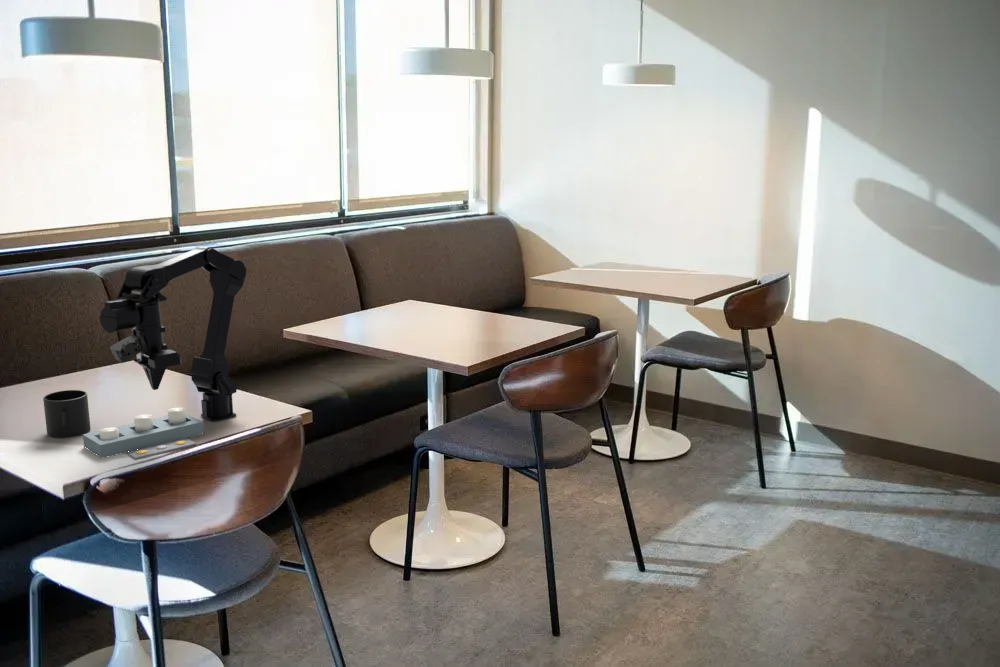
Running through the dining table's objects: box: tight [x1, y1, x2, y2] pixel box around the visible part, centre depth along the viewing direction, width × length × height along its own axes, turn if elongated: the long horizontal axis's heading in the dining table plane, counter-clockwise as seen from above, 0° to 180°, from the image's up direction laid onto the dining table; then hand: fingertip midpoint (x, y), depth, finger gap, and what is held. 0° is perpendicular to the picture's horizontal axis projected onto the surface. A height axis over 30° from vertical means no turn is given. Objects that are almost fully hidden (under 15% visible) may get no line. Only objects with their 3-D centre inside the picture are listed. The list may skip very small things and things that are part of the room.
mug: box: [42, 389, 91, 439], centre depth 228 cm, size 9×12×9 cm
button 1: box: [98, 426, 119, 441], centre depth 218 cm, size 4×4×4 cm
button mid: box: [133, 413, 154, 433], centre depth 223 cm, size 4×4×4 cm
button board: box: [82, 413, 205, 459], centre depth 224 cm, size 24×10×3 cm, turn 133°
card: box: [125, 438, 197, 461], centre depth 218 cm, size 14×5×1 cm, turn 133°
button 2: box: [167, 407, 187, 425], centre depth 229 cm, size 4×4×4 cm
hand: (155, 389), depth 224 cm, fingers closed
